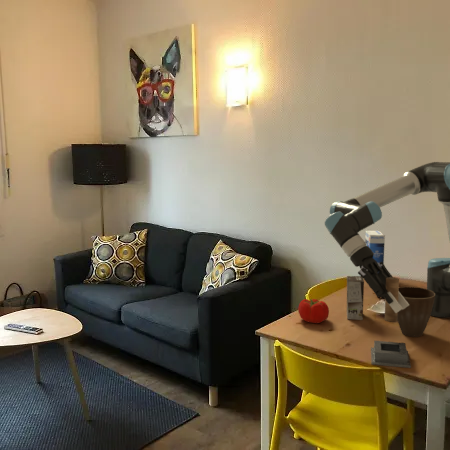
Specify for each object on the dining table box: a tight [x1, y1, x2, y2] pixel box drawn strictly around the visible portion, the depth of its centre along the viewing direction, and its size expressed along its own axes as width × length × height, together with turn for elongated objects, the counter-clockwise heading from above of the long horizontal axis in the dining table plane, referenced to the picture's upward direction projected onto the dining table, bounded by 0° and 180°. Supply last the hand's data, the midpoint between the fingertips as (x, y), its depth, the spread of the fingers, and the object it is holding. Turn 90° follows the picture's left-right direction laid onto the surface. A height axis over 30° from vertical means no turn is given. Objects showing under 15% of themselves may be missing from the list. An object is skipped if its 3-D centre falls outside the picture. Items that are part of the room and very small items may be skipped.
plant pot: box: [397, 286, 435, 338], centre depth 184 cm, size 15×15×16 cm
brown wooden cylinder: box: [384, 276, 400, 323], centre depth 161 cm, size 4×4×14 cm
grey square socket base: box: [370, 340, 412, 369], centre depth 164 cm, size 12×12×4 cm
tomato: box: [297, 298, 330, 324], centre depth 200 cm, size 13×12×8 cm
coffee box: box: [346, 275, 365, 321], centre depth 204 cm, size 9×6×16 cm
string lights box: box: [364, 230, 386, 263], centre depth 255 cm, size 13×8×26 cm, turn 174°
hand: (402, 308), depth 159 cm, fingers closed on brown wooden cylinder, 4 cm apart
